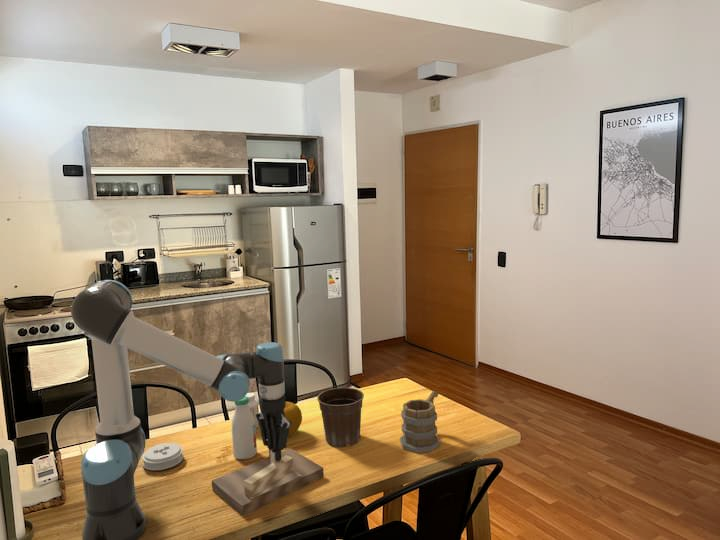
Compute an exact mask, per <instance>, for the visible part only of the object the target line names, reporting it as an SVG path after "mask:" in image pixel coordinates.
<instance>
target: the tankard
mask: <svg viewBox="0 0 720 540" xmlns="http://www.w3.org/2000/svg"><path fill="white" fill-rule="evenodd" d="M438 396H439V392H438V391H435V390H432V391H431V392H430V394H429V396H428V397H427V399H410V400H408V401H406V402H405V403H402V404H403V405H402V410H401V413H400V414H401V418H402V421H403V423H402V424H401V432H402V434H403V435H401V436H400V437H399V442H400V445H401V447H402V449H403V450H405V451H409V452H412V453H414V454H415V453H416V454H421V453H430V452H433V451H435V449H437V448H438V447H439V446H440V444H441V443H440V440H439V438H438V436H437V434H438V427H437V425H436V421H438V413H437V411H436V405H435V404H434V403H435V402H434V400H435V398H438Z"/></svg>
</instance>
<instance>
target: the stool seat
mask: <svg viewBox="0 0 720 540" xmlns="http://www.w3.org/2000/svg"><path fill="white" fill-rule="evenodd" d="M285 455H287V456H289V457H292V458H293V467H294V470H293V471H291V472H290V473H288V474H287V475H285V476H284V477H282V478H281V479H279V480H278V481H276V482H275V483H273V484H272V485H270V486H269V487H267V488H265V489H264V490H262V491H261V492H259V493H258V494H256V495H255V496H253V497H251V496H248V495H246V494H245V491H244V480H246V479H247V478H249V477H251V476H252V475H254V474H256V473H257V472H259V471H261V470H262V469H264V468H266V467H267V466H269V465H270V464H271V459H270V457H269V456H266V457H264V458H262V459H260V460H257V461H255V462H253V463H251V464H248V465H245V466H243V467H240V468H238V469H235V470H233V471H231V472H229V473H226V474H223V475H221V476H219V477H216V478H214V479H212V480H211V487H212V489H211V490H212V491H213V492H214V493H215V494H217V495H218V497H220V498H221V499H223V501H225V502H226V503H227V504H228V505H230V507H232V508H233V509H234V510H235V511H237V512H238V513H239V514H240V515H241V516H242V517H244V516H245V515H248V514H250V513H253V512H254V511H256V510H258V509H260V508H262V507H264V506H266V505H268V504H270V503H273V502H274V501H277V500H278V499H281V498H283V497H285V496H287V495H289V494H292V493H293V492H295V491H298V490H299V489H302V488H304V487H306V486H308V485H310V484H312V483H314V482H316V481H318V480H320V479H322V478H324V475H325V473H324V467H322V466H321V465H319V464H318V463H316V462H314V461H313V460H311V459H309V458H307V457H306V456H304V455H303V454H301V453H299V452H297V450H294V449H293V448H291V447H289V448H285V449H283V450H282V451H281V458H282V457H284V456H285Z"/></svg>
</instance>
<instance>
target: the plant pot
mask: <svg viewBox="0 0 720 540" xmlns="http://www.w3.org/2000/svg"><path fill="white" fill-rule="evenodd" d="M364 397H365V394H364V392H363V391H361V390H360V389H357V388H353V387H336V388H330V389H327V390H324V391H322V392H320V393H319V394H318V395H317V402H318V405H319V409H320V412H321V418H322V422H323V432H324V437H325V441H326V442H327V444H328V445H329V446H333V447H337V448H342V447H347V446H348V445H350V446H353V445H355V444H357V443H358V442H359V441H360V439H361V424H362V423H361V421H362V418H361V417H362V408H363V399H364Z"/></svg>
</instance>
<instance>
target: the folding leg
mask: <svg viewBox="0 0 720 540" xmlns="http://www.w3.org/2000/svg"><path fill="white" fill-rule="evenodd" d="M293 470H294V467H293V458H292V457H289V456H287V455H285V456H284V457H282V458H281V460H279V461H275V462H274V463H272V464H270V465H269V466H267V467H266V468H264V469H262V470H261V471H259V472H257V473H256V474H254V475H252V476H251V477H249V478H247V479H246V480H244V491H245V494H246V495H248V496H251V497H253V496H255V495H256V494H258V493H259V492H261V491H262V490H264V489H265V488H267V487H269V486H270V485H272V484H273V483H275V482H276V481H278V480H279V479H281V478H282V477H284V476H285V475H287V474H288V473H290V472H291V471H293Z"/></svg>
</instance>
